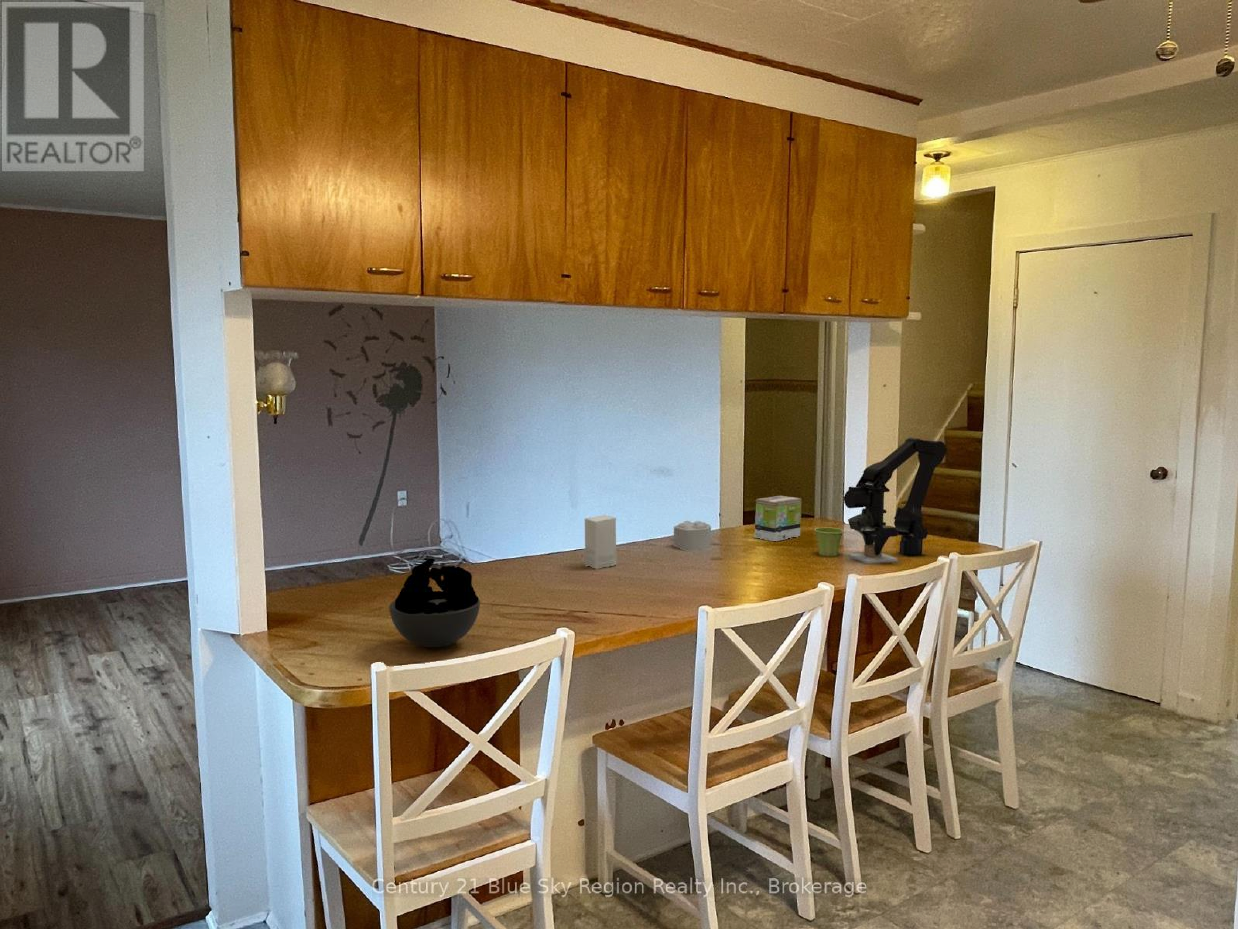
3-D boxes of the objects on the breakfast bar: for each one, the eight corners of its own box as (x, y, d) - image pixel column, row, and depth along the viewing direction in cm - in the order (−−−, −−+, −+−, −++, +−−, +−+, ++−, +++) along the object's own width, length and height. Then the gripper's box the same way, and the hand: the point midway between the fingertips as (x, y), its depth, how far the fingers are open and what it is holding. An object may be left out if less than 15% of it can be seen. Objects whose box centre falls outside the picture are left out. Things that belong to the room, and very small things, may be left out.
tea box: (776, 542, 314) (776, 501, 312) (753, 538, 321) (754, 498, 320) (801, 537, 324) (802, 497, 322) (779, 533, 331) (780, 494, 330)
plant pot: (840, 552, 296) (841, 527, 295) (844, 558, 287) (845, 532, 286) (812, 552, 297) (812, 527, 296) (815, 558, 288) (816, 532, 287)
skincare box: (605, 562, 283) (605, 514, 281) (617, 566, 277) (617, 517, 276) (583, 566, 278) (583, 517, 276) (595, 570, 272) (595, 520, 271)
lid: (878, 554, 292) (878, 541, 292) (897, 561, 282) (897, 548, 281) (848, 556, 289) (849, 543, 289) (867, 563, 279) (867, 550, 278)
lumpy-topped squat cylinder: (670, 546, 308) (670, 521, 307) (700, 542, 315) (700, 518, 314) (687, 551, 300) (687, 526, 299) (717, 547, 306) (718, 522, 305)
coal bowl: (467, 661, 188) (465, 575, 186) (377, 659, 190) (374, 574, 188) (490, 633, 208) (488, 555, 206) (407, 631, 210) (405, 554, 208)
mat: (879, 554, 294) (879, 553, 293) (902, 562, 281) (902, 561, 281) (844, 556, 290) (844, 555, 290) (866, 565, 278) (866, 564, 277)
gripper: (837, 503, 290) (836, 549, 292) (868, 512, 272) (866, 561, 274) (867, 501, 293) (865, 547, 295) (899, 510, 275) (898, 559, 277)
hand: (873, 553), depth 285 cm, fingers open, 4 cm apart
